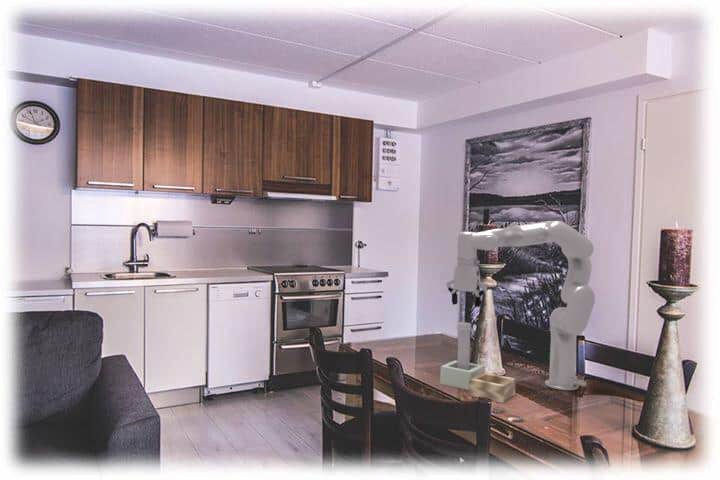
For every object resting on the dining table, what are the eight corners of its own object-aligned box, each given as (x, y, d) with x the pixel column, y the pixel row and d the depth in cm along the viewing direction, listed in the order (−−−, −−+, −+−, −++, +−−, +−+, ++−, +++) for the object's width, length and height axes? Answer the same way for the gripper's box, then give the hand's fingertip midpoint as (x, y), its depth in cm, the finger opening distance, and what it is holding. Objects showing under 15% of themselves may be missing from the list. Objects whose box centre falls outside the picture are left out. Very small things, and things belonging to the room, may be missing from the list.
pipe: (469, 385, 209) (472, 310, 209) (453, 384, 211) (456, 309, 210) (469, 381, 215) (472, 308, 214) (453, 380, 216) (456, 307, 215)
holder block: (484, 383, 214) (484, 365, 214) (470, 390, 203) (471, 372, 203) (454, 376, 222) (455, 360, 221) (440, 383, 211) (440, 366, 211)
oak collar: (515, 394, 200) (515, 378, 200) (502, 403, 190) (502, 386, 190) (482, 387, 208) (483, 372, 208) (468, 395, 197) (469, 379, 197)
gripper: (491, 263, 209) (490, 306, 210) (451, 261, 219) (450, 302, 220) (483, 264, 203) (482, 308, 204) (442, 261, 213) (442, 304, 214)
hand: (465, 305), depth 212 cm, fingers open, 9 cm apart
